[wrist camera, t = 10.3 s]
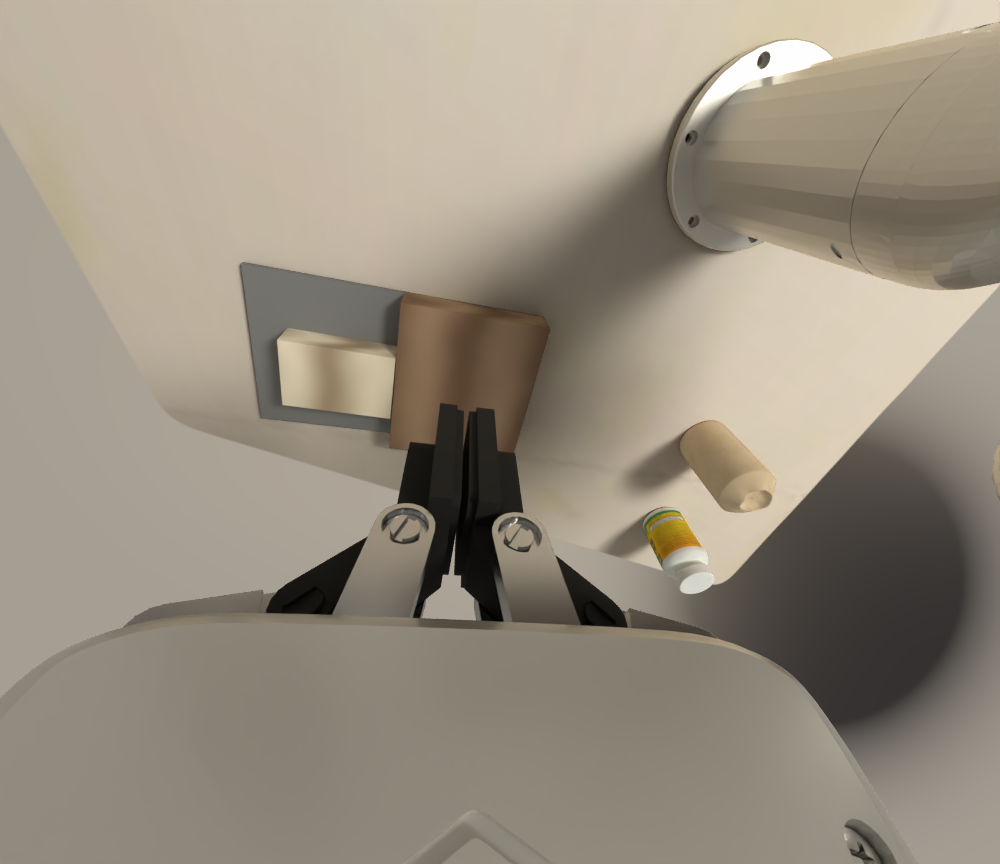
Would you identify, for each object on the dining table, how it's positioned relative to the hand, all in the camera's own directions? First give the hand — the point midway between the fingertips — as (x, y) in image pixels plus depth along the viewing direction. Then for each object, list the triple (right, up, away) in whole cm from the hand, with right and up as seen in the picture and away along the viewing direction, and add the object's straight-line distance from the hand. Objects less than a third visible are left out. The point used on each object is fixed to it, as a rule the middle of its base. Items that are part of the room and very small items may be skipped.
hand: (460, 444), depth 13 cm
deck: (-2, +6, +26) cm, 26 cm away
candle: (+24, 0, +33) cm, 41 cm away
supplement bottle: (+22, -11, +41) cm, 48 cm away
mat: (-14, +7, +23) cm, 28 cm away
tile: (-13, +5, +22) cm, 26 cm away
